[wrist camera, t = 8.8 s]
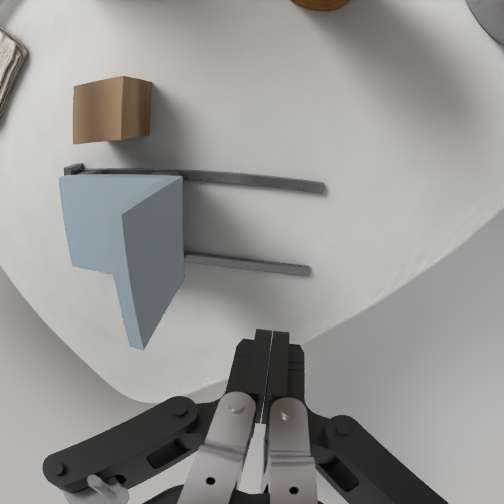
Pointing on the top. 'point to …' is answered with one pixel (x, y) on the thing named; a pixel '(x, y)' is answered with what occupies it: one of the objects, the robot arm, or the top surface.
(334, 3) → the disposable coffee cup
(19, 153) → the top surface
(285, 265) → the rails
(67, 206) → the pale blue l-shaped block
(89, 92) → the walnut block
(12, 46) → the washcloth
